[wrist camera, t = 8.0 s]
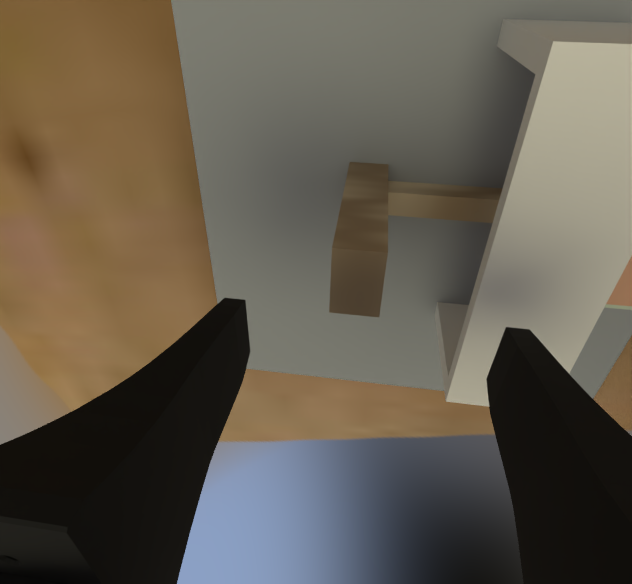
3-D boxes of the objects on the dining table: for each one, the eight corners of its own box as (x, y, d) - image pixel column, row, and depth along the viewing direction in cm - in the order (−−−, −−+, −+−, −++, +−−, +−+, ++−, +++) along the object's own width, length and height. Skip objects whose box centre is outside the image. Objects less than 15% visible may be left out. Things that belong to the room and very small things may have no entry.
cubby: (989, -301, 10) (1578, -567, 5) (583, 396, 25) (631, 504, 20) (141, -271, 12) (-33, -437, 7) (231, 357, 27) (194, 446, 22)
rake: (612, 130, 16) (730, 216, 10) (555, 266, 20) (621, 384, 14) (352, 116, 17) (334, 188, 11) (344, 248, 21) (327, 352, 15)
